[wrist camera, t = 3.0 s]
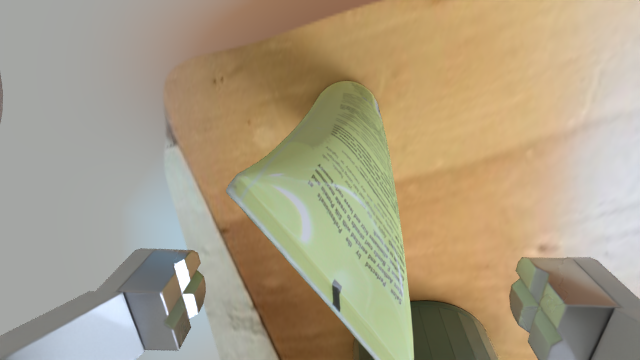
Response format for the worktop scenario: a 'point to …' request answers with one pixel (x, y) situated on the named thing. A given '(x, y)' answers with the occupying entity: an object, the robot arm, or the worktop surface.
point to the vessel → (442, 334)
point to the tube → (338, 216)
